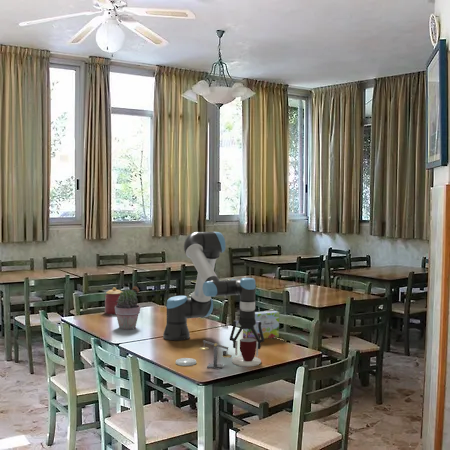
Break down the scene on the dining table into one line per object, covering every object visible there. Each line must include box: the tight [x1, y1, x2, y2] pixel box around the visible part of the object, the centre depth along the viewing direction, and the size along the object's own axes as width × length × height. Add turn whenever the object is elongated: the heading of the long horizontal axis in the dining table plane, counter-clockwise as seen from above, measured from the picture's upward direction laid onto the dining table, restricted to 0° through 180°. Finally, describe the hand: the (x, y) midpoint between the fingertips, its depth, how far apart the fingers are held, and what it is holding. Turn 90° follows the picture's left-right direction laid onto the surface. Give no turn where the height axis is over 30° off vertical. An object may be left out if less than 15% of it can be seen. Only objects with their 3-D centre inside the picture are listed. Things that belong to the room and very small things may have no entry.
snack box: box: [242, 310, 280, 340], centre depth 331 cm, size 21×6×15 cm, turn 117°
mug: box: [239, 338, 257, 361], centre depth 281 cm, size 10×8×10 cm
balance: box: [199, 339, 232, 370], centre depth 273 cm, size 15×5×12 cm, turn 83°
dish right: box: [231, 355, 262, 368], centre depth 281 cm, size 14×14×1 cm
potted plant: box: [114, 285, 143, 330], centre depth 351 cm, size 18×20×25 cm
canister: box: [104, 287, 123, 315], centre depth 397 cm, size 13×13×18 cm
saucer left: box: [175, 357, 197, 367], centre depth 279 cm, size 10×10×1 cm
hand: (246, 355), depth 281 cm, fingers open, 9 cm apart
